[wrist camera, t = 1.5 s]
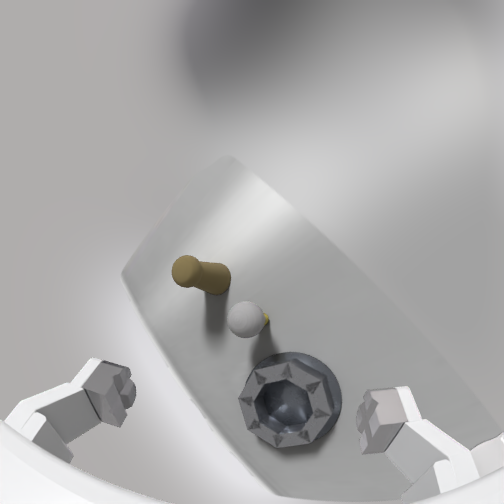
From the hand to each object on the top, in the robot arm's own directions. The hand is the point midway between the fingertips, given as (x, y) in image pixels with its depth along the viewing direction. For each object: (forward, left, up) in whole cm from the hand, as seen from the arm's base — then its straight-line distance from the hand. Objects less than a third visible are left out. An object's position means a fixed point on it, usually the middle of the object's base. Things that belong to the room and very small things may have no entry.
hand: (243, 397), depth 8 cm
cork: (+26, +3, -37) cm, 45 cm away
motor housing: (+3, +15, -37) cm, 40 cm away
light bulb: (+14, +5, -37) cm, 40 cm away
